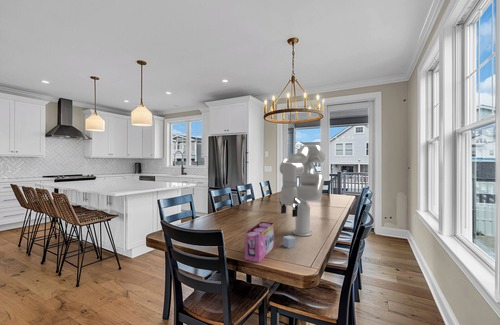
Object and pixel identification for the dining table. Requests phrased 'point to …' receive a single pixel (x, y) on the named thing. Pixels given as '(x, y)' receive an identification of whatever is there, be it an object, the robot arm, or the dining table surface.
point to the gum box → (259, 241)
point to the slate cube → (289, 241)
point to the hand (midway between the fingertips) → (289, 214)
